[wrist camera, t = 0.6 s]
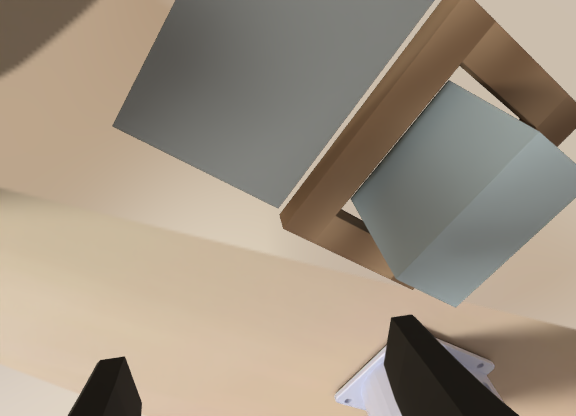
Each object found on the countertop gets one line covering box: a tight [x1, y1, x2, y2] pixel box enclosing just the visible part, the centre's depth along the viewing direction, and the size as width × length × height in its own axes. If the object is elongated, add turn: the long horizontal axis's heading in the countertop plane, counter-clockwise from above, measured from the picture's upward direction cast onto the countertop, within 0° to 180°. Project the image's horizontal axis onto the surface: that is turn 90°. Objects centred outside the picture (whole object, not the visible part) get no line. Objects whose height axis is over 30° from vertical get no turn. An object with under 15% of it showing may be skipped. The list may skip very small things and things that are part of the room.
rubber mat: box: [113, 0, 434, 208], centre depth 16 cm, size 8×11×1 cm
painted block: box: [351, 80, 576, 308], centre depth 18 cm, size 4×7×6 cm, turn 145°
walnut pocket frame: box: [280, 0, 576, 290], centre depth 20 cm, size 9×12×1 cm
